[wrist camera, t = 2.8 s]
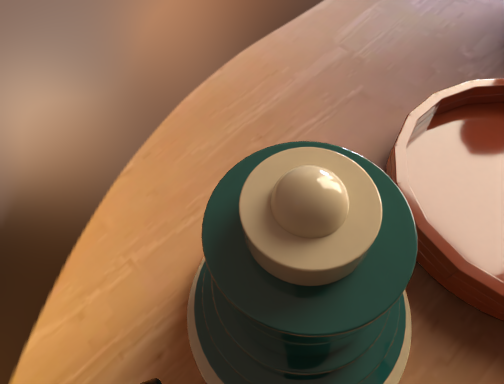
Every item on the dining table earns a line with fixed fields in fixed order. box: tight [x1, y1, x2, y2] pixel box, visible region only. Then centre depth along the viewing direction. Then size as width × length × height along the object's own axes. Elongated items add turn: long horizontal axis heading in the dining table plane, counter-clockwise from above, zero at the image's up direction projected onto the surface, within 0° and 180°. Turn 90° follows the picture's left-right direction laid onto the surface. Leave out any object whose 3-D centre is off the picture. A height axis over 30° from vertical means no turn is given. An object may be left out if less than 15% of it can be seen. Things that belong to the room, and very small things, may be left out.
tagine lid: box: [187, 141, 418, 384], centre depth 14 cm, size 11×11×13 cm
